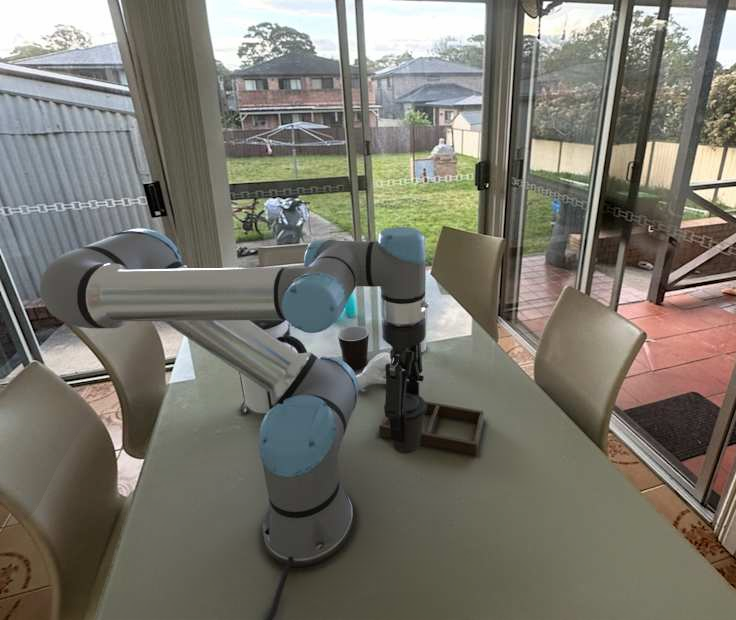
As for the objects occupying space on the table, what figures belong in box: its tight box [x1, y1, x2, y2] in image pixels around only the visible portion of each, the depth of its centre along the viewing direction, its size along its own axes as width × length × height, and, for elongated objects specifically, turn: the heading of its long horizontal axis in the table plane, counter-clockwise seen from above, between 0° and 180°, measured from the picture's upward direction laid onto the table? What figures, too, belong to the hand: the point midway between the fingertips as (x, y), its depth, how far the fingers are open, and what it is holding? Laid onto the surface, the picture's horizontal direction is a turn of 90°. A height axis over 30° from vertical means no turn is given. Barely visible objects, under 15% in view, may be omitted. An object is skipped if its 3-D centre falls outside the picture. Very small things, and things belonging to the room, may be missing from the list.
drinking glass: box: [421, 306, 429, 353], centre depth 131 cm, size 7×7×15 cm
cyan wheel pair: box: [343, 291, 357, 318], centre depth 152 cm, size 10×10×10 cm
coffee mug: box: [337, 325, 370, 371], centre depth 126 cm, size 12×9×10 cm
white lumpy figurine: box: [356, 351, 391, 393], centre depth 115 cm, size 6×8×12 cm
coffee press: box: [238, 320, 308, 415], centre depth 103 cm, size 17×16×30 cm
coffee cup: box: [383, 392, 427, 455], centre depth 84 cm, size 8×8×10 cm
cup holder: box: [379, 400, 485, 457], centre depth 100 cm, size 11×22×3 cm, turn 74°
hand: (405, 424), depth 84 cm, fingers closed on coffee cup, 8 cm apart
